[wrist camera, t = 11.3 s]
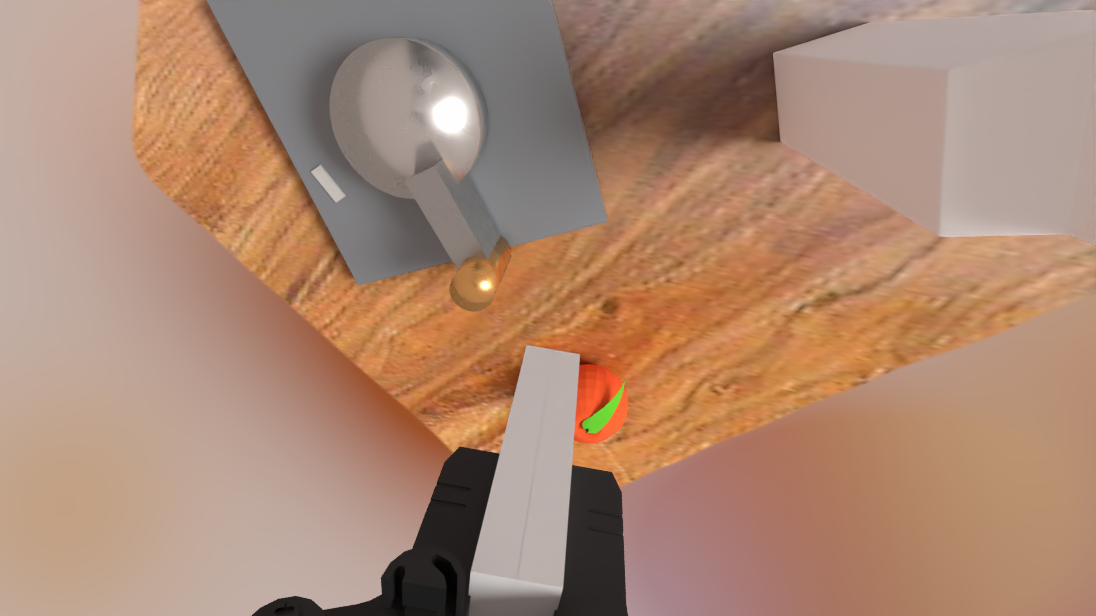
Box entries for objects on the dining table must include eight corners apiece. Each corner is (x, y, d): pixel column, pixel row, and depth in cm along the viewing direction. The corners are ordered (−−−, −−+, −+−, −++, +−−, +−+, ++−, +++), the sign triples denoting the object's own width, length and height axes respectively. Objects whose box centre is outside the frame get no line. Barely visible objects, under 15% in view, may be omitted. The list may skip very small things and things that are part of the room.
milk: (779, 142, 35) (990, 277, 16) (771, 50, 32) (1014, 78, 13) (874, 116, 33) (1232, 229, 14) (873, 18, 31) (1315, -5, 12)
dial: (321, 81, 34) (257, 91, 28) (440, 7, 31) (399, 0, 25) (450, 287, 41) (422, 333, 35) (557, 243, 38) (548, 284, 32)
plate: (220, -1, 34) (202, -3, 32) (518, -132, 29) (513, -141, 27) (365, 278, 43) (357, 286, 42) (607, 215, 38) (607, 222, 37)
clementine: (594, 328, 44) (592, 376, 37) (649, 371, 45) (657, 424, 39) (538, 380, 47) (529, 432, 41) (592, 418, 49) (590, 474, 43)
